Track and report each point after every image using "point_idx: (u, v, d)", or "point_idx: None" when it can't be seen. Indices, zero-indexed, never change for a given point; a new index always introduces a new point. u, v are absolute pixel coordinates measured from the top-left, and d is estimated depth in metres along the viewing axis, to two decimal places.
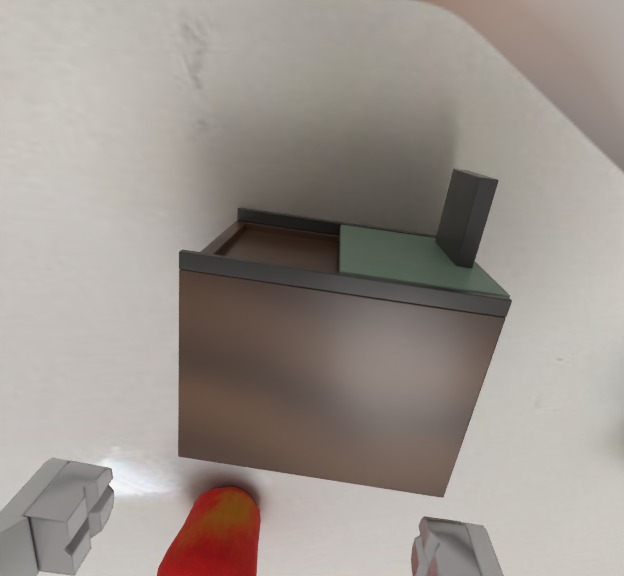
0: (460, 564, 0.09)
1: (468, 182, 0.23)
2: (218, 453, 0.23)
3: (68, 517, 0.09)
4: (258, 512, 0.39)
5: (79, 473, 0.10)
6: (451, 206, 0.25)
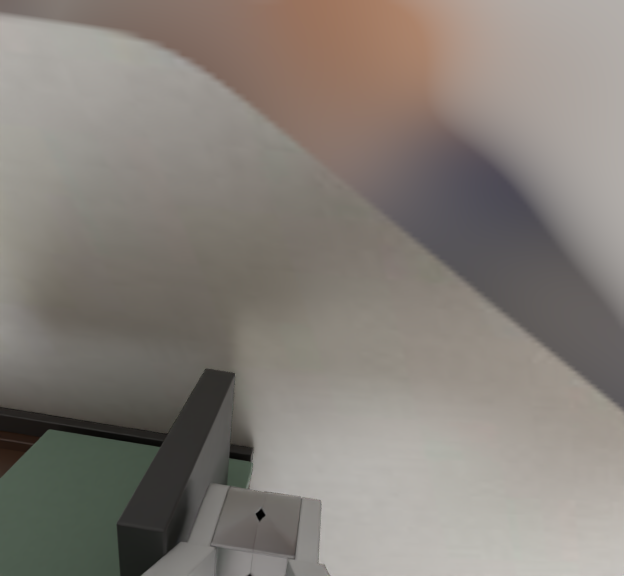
0: (278, 535, 0.09)
1: None
2: None
3: (254, 547, 0.08)
4: None
5: (241, 499, 0.10)
6: None
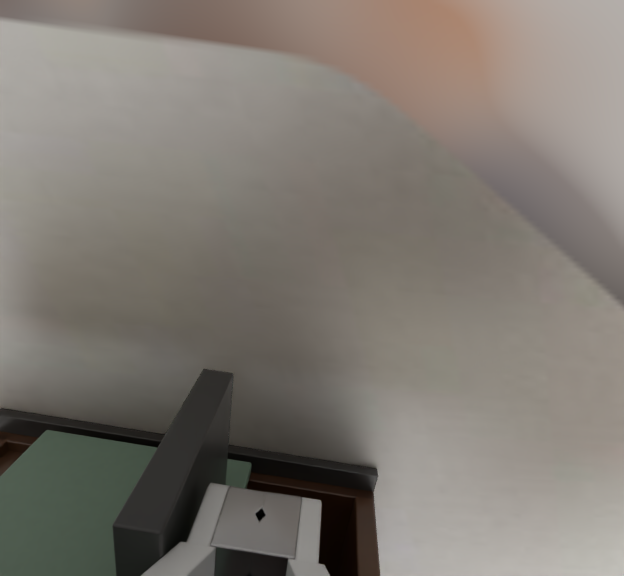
0: (278, 535, 0.09)
1: None
2: None
3: (254, 546, 0.08)
4: None
5: (241, 498, 0.10)
6: None
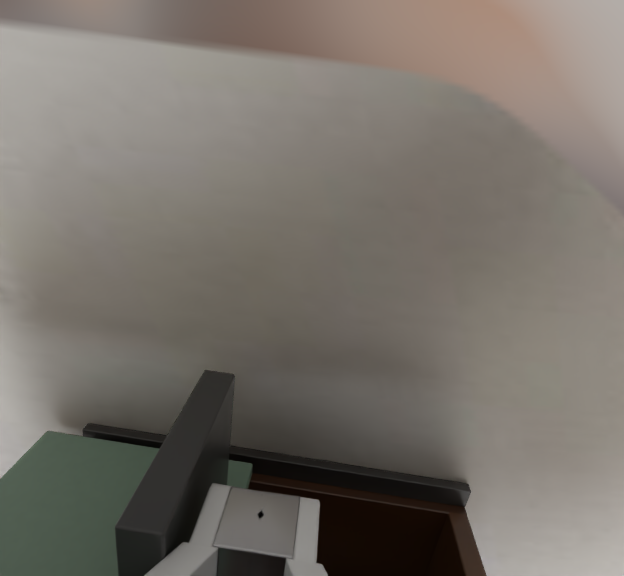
0: (276, 534, 0.09)
1: None
2: None
3: (256, 547, 0.08)
4: None
5: (244, 499, 0.10)
6: None
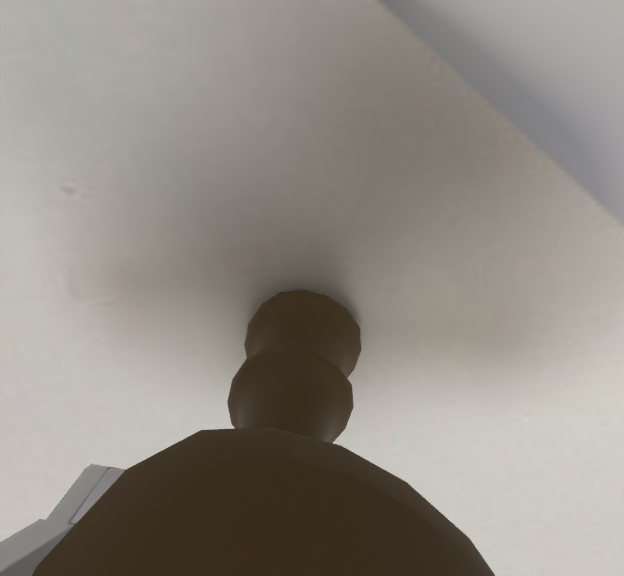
0: None
1: None
2: None
3: None
4: None
5: None
6: None
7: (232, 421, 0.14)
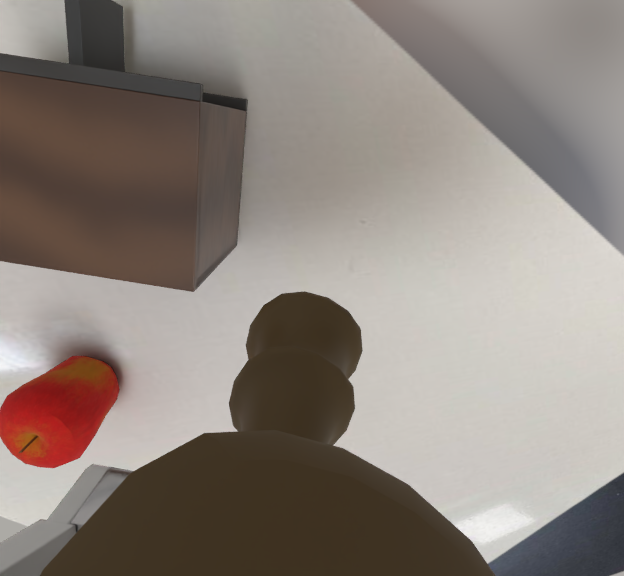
0: None
1: None
2: None
3: None
4: (114, 379, 0.43)
5: (120, 480, 0.10)
6: None
7: (234, 422, 0.14)
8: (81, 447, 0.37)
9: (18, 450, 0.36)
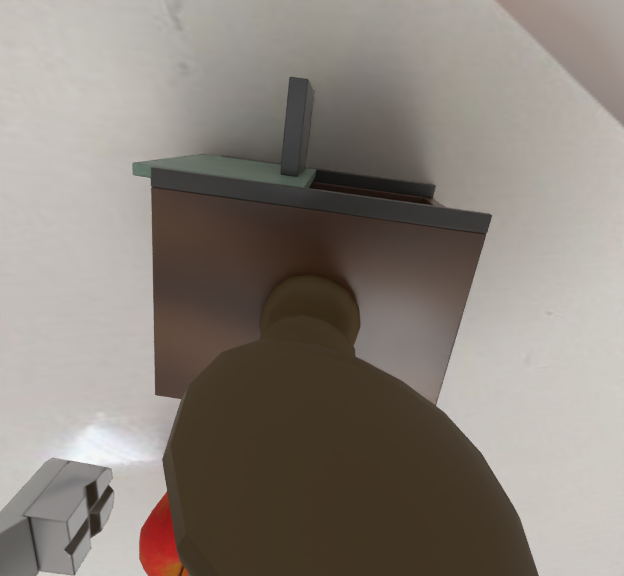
0: None
1: None
2: None
3: (68, 517, 0.09)
4: None
5: (79, 473, 0.10)
6: None
7: None
8: None
9: None
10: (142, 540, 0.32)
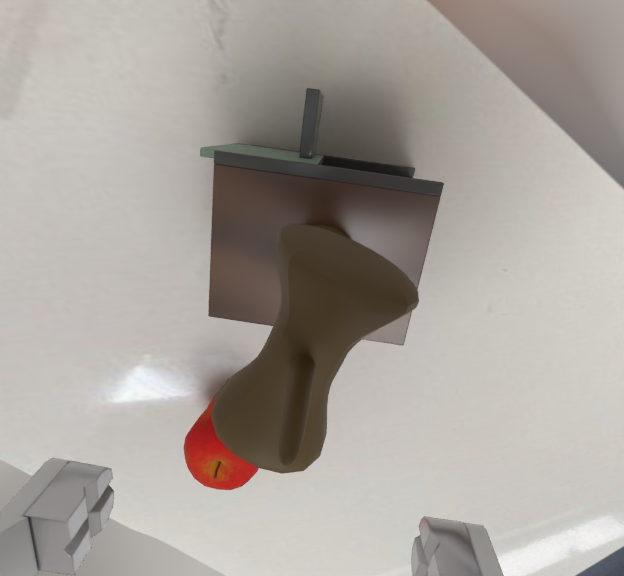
0: (460, 564, 0.09)
1: None
2: (238, 312, 0.32)
3: (68, 517, 0.09)
4: None
5: (79, 473, 0.10)
6: None
7: None
8: (255, 471, 0.42)
9: (204, 475, 0.41)
10: (187, 443, 0.41)
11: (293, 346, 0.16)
